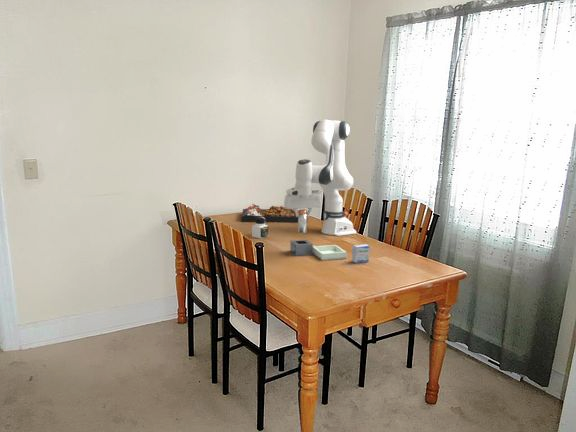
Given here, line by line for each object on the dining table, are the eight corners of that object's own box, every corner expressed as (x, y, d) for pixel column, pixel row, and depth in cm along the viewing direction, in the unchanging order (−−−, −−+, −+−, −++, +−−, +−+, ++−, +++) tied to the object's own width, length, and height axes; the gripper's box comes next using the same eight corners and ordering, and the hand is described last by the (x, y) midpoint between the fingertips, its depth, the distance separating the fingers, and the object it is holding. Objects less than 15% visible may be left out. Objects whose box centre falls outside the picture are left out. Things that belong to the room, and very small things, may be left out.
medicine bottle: (260, 239, 285) (261, 219, 282) (251, 236, 289) (251, 217, 286) (268, 236, 290) (268, 217, 288) (259, 234, 294) (259, 215, 292)
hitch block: (306, 249, 265) (306, 239, 264) (312, 254, 257) (312, 244, 255) (290, 251, 262) (290, 240, 261) (295, 256, 254) (296, 245, 252)
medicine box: (356, 263, 245) (357, 247, 243) (351, 261, 248) (352, 245, 246) (368, 261, 248) (369, 245, 246) (363, 259, 252) (364, 243, 250)
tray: (335, 250, 265) (335, 244, 264) (346, 258, 252) (346, 252, 251) (312, 252, 261) (312, 246, 260) (321, 260, 248) (322, 254, 247)
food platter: (241, 222, 325) (241, 208, 323) (242, 214, 349) (243, 201, 347) (307, 223, 328) (307, 209, 326) (304, 215, 352) (304, 202, 350)
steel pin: (304, 230, 260) (305, 209, 257) (307, 232, 256) (308, 210, 253) (296, 231, 258) (297, 209, 256) (299, 233, 254) (300, 211, 252)
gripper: (319, 189, 258) (318, 214, 261) (283, 190, 252) (282, 215, 255) (323, 191, 252) (322, 216, 256) (287, 192, 246) (286, 218, 249)
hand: (302, 216), depth 255 cm, fingers closed on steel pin, 4 cm apart
